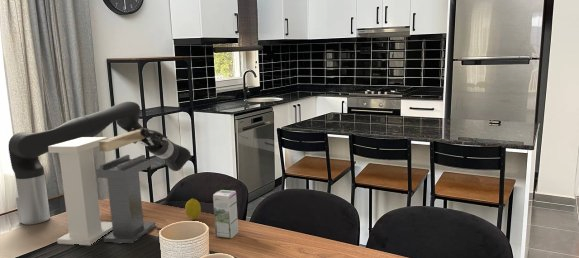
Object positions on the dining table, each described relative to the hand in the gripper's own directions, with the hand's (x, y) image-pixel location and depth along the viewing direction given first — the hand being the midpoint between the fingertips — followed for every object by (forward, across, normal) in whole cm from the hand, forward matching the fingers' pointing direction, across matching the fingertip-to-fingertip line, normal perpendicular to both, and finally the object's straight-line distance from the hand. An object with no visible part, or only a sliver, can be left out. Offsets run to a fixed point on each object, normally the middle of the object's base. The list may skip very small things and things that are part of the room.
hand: (136, 131), depth 149 cm
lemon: (-21, +16, +27) cm, 38 cm away
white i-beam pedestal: (-6, -14, +35) cm, 38 cm away
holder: (-8, 0, +34) cm, 35 cm away
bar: (+5, 0, +6) cm, 8 cm away
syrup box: (-11, +33, +33) cm, 48 cm away
